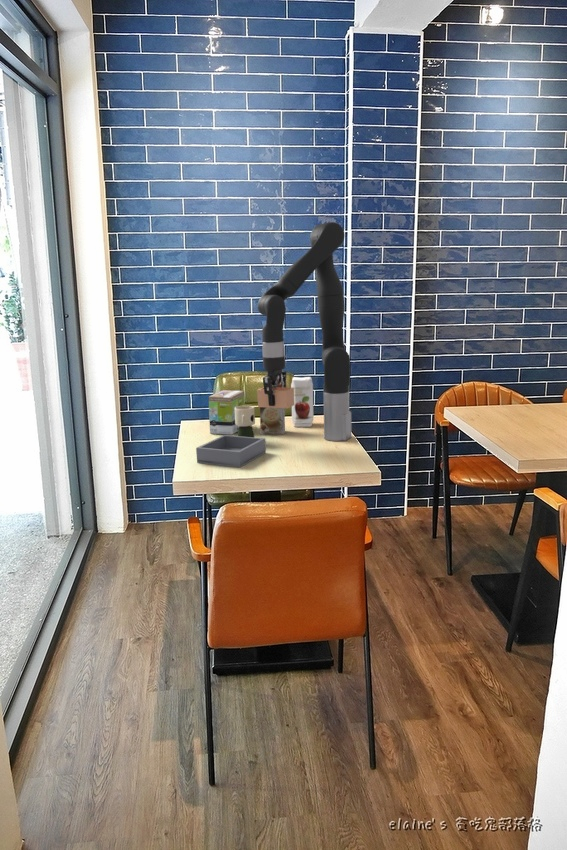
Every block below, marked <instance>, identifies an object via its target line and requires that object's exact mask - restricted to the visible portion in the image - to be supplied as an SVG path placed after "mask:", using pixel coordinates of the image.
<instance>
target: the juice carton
mask: <svg viewBox="0 0 567 850" xmlns="http://www.w3.org/2000/svg"><path fill="white" fill-rule="evenodd" d="M290 388H294V404H295V405H293V406H291V421H292V424H293V427H294V428H304V427H305V428H308V427H309V428H311V427H312V426H313V422H314V383H313V379H312V377H311V376H304V377H299V376H298V377H297V376H296V377H295V376H293V377H292V379H291V383H290Z"/></svg>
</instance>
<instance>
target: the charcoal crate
mask: <svg viewBox="0 0 567 850" xmlns="http://www.w3.org/2000/svg"><path fill="white" fill-rule="evenodd" d="M195 451H196V462H197V464H205V465H215V466H225V467H232V468H233V467H234V468H241V467H243V466H246V465H247V464H248V463H251V462H252V461H254V460H256V459H258V458H259V457H261V456H263V455H264V454H266V453H267V452H266V451H267V449H266V438H262V437H255V436H254V437H242V436H238V435H232V434H222V435H221V436H218V437H217V438H215V439H213V440H210V441H207V442H206V443H204V444H202V445H199V446H197V447H195Z"/></svg>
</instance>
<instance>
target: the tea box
mask: <svg viewBox="0 0 567 850" xmlns="http://www.w3.org/2000/svg"><path fill="white" fill-rule="evenodd" d="M245 395H246V393H245V390H232V389H231V390H229V389H228V390H227V389H226V390H225V389H224V390H220V391H218V392H215V393H214V394H211V395H210V396H208V417H209V420H208V421H209V434H211V435H213V434H214V435H234V434H235V433H238V428H239V426H237V425H236V424H235V407H238V406H246V396H245Z"/></svg>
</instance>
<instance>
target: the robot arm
mask: <svg viewBox="0 0 567 850" xmlns="http://www.w3.org/2000/svg"><path fill="white" fill-rule="evenodd" d="M309 239H310V249H309V250H307V252H305V253H304V254H303V255H302V256H301V257H299V258H298V259H296V261H294V263H292V264H291V265H290V266H289V267H288V268H287V270H285V272H284V273H283V274H282V275H281V276H280V277H279V279H278V281H277V282H276V283H275V284H273V285H272V286H271V287H270V288H268V289H267V290H266V291H264V293H263V294H262V295H261V296H260V298H259V300H258V301H257V310H258V312H259V313H260V314H261V315H262V316H265V317H266V321H265V324H264V325H263V326H262V329H261V331H262V332H261V333H262V335H261V336H262V346H261V347H262V351H261V352H262V364H263V366H262V367H263V370H265V371H266V372H267V374H266V376H263V377H262V384H263V385H262V386H263V387H264V393H265V394H267V395H268V401H269V406H275V389H277V387H287V371H286V370H285V371H284V369H285V368H286V349H285V348H286V347H285V343H284V324H285V318H286V312H287V311H286V310H287V309H286V303H285V300H287V299H289V298H292V297H293V296H294V295H295V294H296V292H298V291H299V289H300V288H301V287H302V286H303V284H304V283H305V282H306V281H307V279H308V278H309V277H310V276H311V275H312V274H313V273H314V271H315V282H316V296H317V307H318V315H319V322H320V328H321V336H322V339H321V340H322V345H321V346H322V348H321V349H322V351H321V361H322V364H323V369H324V370H323V372H324V373H323V377H324V378H323V379H324V380H323V386H322V389H323V436H324V437H323V438H324V439H325V440H327V441H331V442H336V441H339V442H340V441H344V442H345V441H348V440H350V438H352V411H350V385H351V358H350V355H349V353H348V352H347V350H346V348H345V342H344V335H343V325H344V320H345V318H344V317H345V297H344V296H345V295H344V294H345V293H344V288H343V285H342V282H341V280H340V277H339V275H338V273H337V271H336V268H335V265H334V255H333V254H334V252H336V251H337V249H339V248H340V247H341V246H342V244H343V243H344V241H345V231H344V228H343V226H342V225H340V224H339V223H337V222H334V221H331V222H330V221H329V222H328V221H327V222H325V223H320V224H316V225H315V226H314V227H313V228H312V230H311V232H310V238H309ZM267 388H268V389H267ZM272 389H273V390H272Z"/></svg>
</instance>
